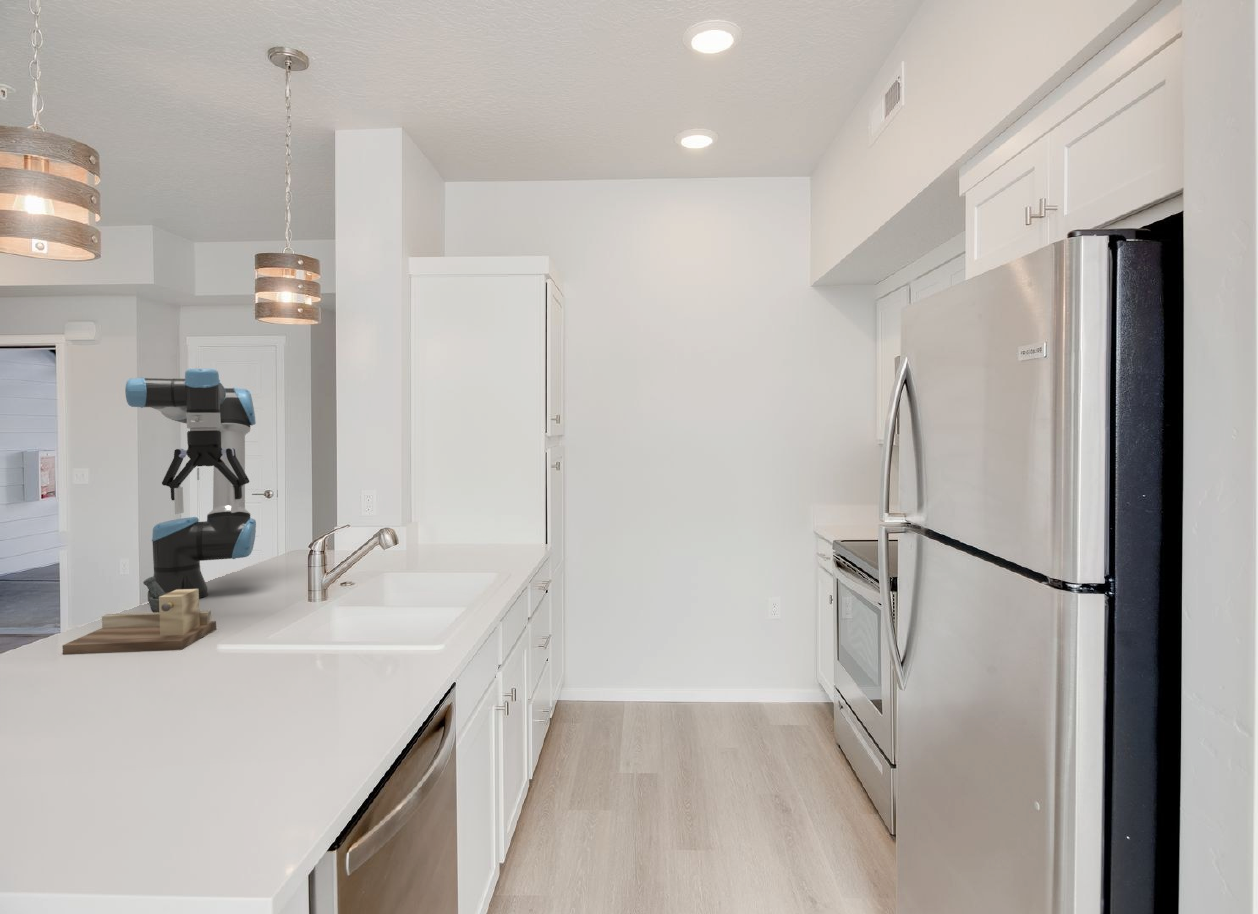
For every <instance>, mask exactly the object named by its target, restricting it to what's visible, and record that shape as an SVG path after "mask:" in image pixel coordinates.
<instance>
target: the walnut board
mask: <svg viewBox="0 0 1258 914" xmlns="http://www.w3.org/2000/svg"><path fill="white" fill-rule="evenodd" d="M199 616H200V626H198V627H196V628H195V629H193V630H191V631H189V632H187V633H186V634H184V635H165V636H160V615H159V612H157V613H153V612H133V613H106V614H104V615H102V616H101V628H98V629H96V630H94V631H93V632H89V633H88V634H86V635H83V636H80V637H78V638H76V639H74V640H71V641H68V642H66V643H64V644H62V655H74V654H75V655H77V654H99V653H100V654H102V653H124V652H125V653H126V652H127V653H128V652H151V651H172V650H173V651H176V650H177V651H178V650H183V649H185V648H187V647H188V646H190V645H193V644H194V643H195V642H197V641H198V640H200V639H202V638H203V637H205V636H207V635H209V634H210V633H212V632H215V630H217V621H216V620H212V610H199Z"/></svg>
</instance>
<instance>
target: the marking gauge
mask: <svg viewBox="0 0 1258 914" xmlns="http://www.w3.org/2000/svg"><path fill="white" fill-rule="evenodd" d="M199 611H200V598H199V589H177V590H174V591H172V592H170V593H167V594H165V595H162V596H160V597H159V615H160V636H165V635H184V634H186V633H187V632H189V631H191V630H193V629H195V628H196V627H198V626H200V616H199Z"/></svg>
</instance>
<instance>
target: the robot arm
mask: <svg viewBox="0 0 1258 914" xmlns="http://www.w3.org/2000/svg"><path fill="white" fill-rule="evenodd" d="M220 381H221V380H220V375H219V371H218V370H216V369H212V368H188V369H186V370H185V372H184V378H152V377H151V378H148V377H139V378H137V377H136V378H133V377H132V378H129V379H128V380H127V381H126V383H125V386H124V387H125V399H126V403H127V405H128V406H130V407H132V408H141V409H142V408H151V409H153V410H157V411H158V412H160V413H161V414H162V415H163V416H164V418H167V419H169V420H171V421H175V422H179V423H182V424H186V428H187V429H189V430H188V431H187V432H186V439H187V440H186V441H187V449H183V448H176V449H175V450H174V452H173V459H172V461H171V463H170V464H169V466H168V469H167V471H166V474H165V475H164V477H163V480H162V481H161V485H162V486H165V487H168V488H170V499H171V501H174V514H175V515H178V514H183V513H184V512H185V511H184V491H183V490H184V488H183V487H182V486H181V485H182V483H183V482H184V481H185V480H186V478H187V477H188V476H190V473H192V471H193V470H194V469H195V468H196V467H213V476H212V477H213V478H212V479H213V480H212V481H213V484H212V485H213V487H212V491H213V492H212V494H213V495H212V510H211V511H210V512H208V513H207V516H206V521H200V519H199V518H198V517H197V516H191V517H183V518H178V519H177V518H176V519H172V520H166V521H163V522H160V523H159V522H158V523H157V524H155V525H154V526H153V528H152V538H151V542H152V557H153V559H152V561H153V562H152V563H153V574H152V575H153V576H152V577H155V581H156V582H157V583H158V584H159V586H160V587H161V588H162V589H163V591H164V592H165V593H168V592H172V591H174V590H177V589H199V599H202V598H204V597H206V596H208V586H207V584H206V580H205V578H204V577H203V574H202V571H201V563H200V561H201V562H202V561H216V560H217V561H218V560H228V559H229V560H230V559H231V560H236V559H241V558H247V557H249V556H251V554H252V552H253V549H254V545H255V539H256V532H257V531H256V530H257V529H256V528H257V522H256V519H255V518H251V513H250V512H249V511H248V510H247V509H246V485H247V484H249V483H250V479H249V477H248V475H247V474H246V435H247V434H249V433H250V432H251V426H254V425H256V423H257V421H256V414H255V407H254V403H253V398H252V395H251V392H250V390H248V389H247V388H238V387H237V388H235V387H232V388H231V387H229V388H227V387H224V385H223V384H222V383H221V382H220ZM186 456H187V458H189V460H188V461H187V462H186V464H185V465H184V467H183V468H182V469H181V471H179V469H180V467H181V465H182V463H183V461H184V458H186ZM178 471H179V473H178ZM177 473H178V474H177ZM151 596H152V594H151V592H150V591H149V590H148V591H147V602H148V603H150V597H151Z"/></svg>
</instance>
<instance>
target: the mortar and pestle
mask: <svg viewBox="0 0 1258 914" xmlns="http://www.w3.org/2000/svg"><path fill="white" fill-rule="evenodd" d="M142 582H143V583H142V584H143V585H145V586H146V587H147V589H148V591H150V592H151V594H152V596H151V597H150V602H149V607H150V610H151V611H150V612H151V613H157V612H159V597H160V596H162V595H165V594H167V593H165V592H164V591H163V589H162V588H161V587H160V586H159V584H158V583H157V582H156V581H155V577H153V576H149V577H148V578H146V579H144V581H142ZM168 593H170V592H168Z"/></svg>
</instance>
